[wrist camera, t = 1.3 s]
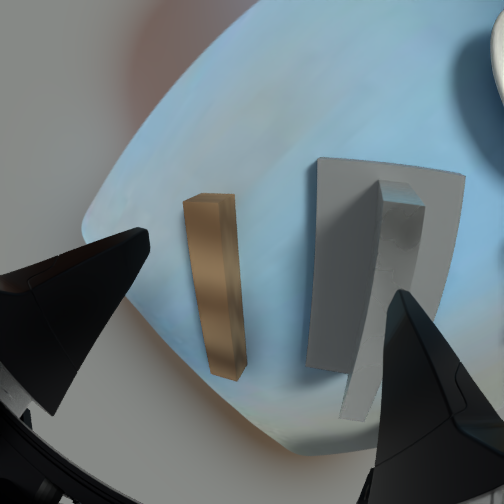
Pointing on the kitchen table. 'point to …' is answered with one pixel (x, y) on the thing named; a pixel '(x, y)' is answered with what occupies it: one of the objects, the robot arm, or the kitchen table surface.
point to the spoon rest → (498, 53)
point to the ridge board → (360, 248)
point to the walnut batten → (217, 280)
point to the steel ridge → (383, 289)
